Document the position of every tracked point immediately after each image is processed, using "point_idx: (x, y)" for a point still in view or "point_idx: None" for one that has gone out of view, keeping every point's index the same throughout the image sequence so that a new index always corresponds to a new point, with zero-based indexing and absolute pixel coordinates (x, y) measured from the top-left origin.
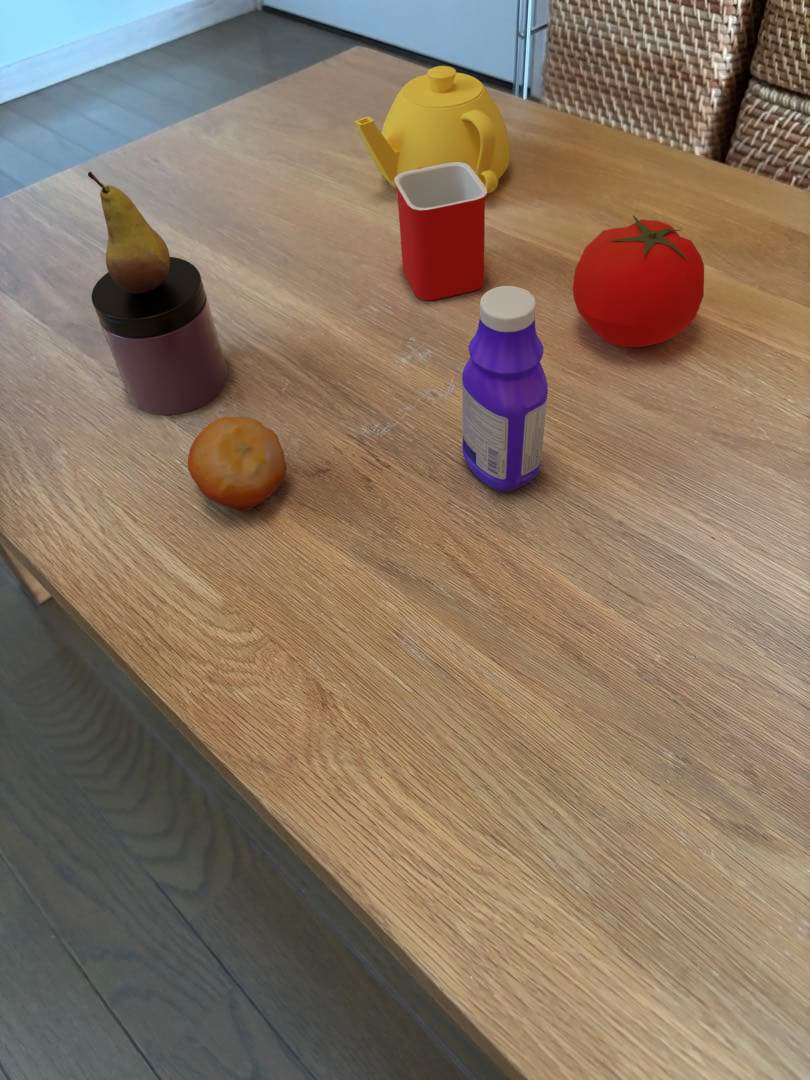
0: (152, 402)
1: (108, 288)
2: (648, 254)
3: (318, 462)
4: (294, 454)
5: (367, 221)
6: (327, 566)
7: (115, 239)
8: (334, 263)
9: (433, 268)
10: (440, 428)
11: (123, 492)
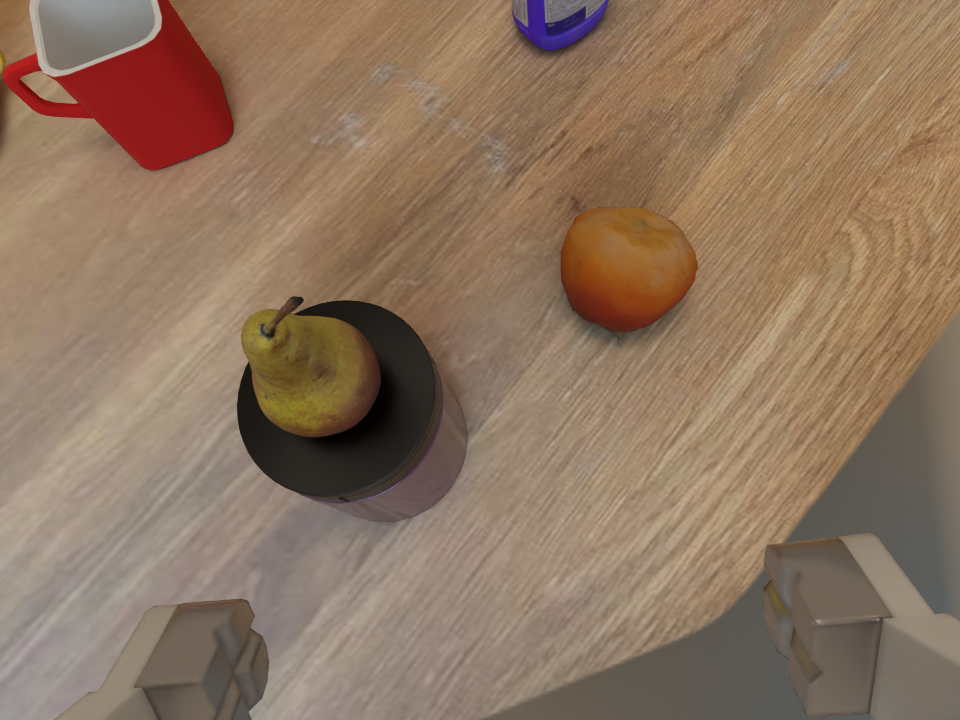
0: (461, 450)
1: (334, 465)
2: None
3: (559, 212)
4: (545, 243)
5: (11, 238)
6: (735, 171)
7: (333, 364)
8: (116, 268)
9: (209, 88)
10: (493, 87)
11: (634, 458)
